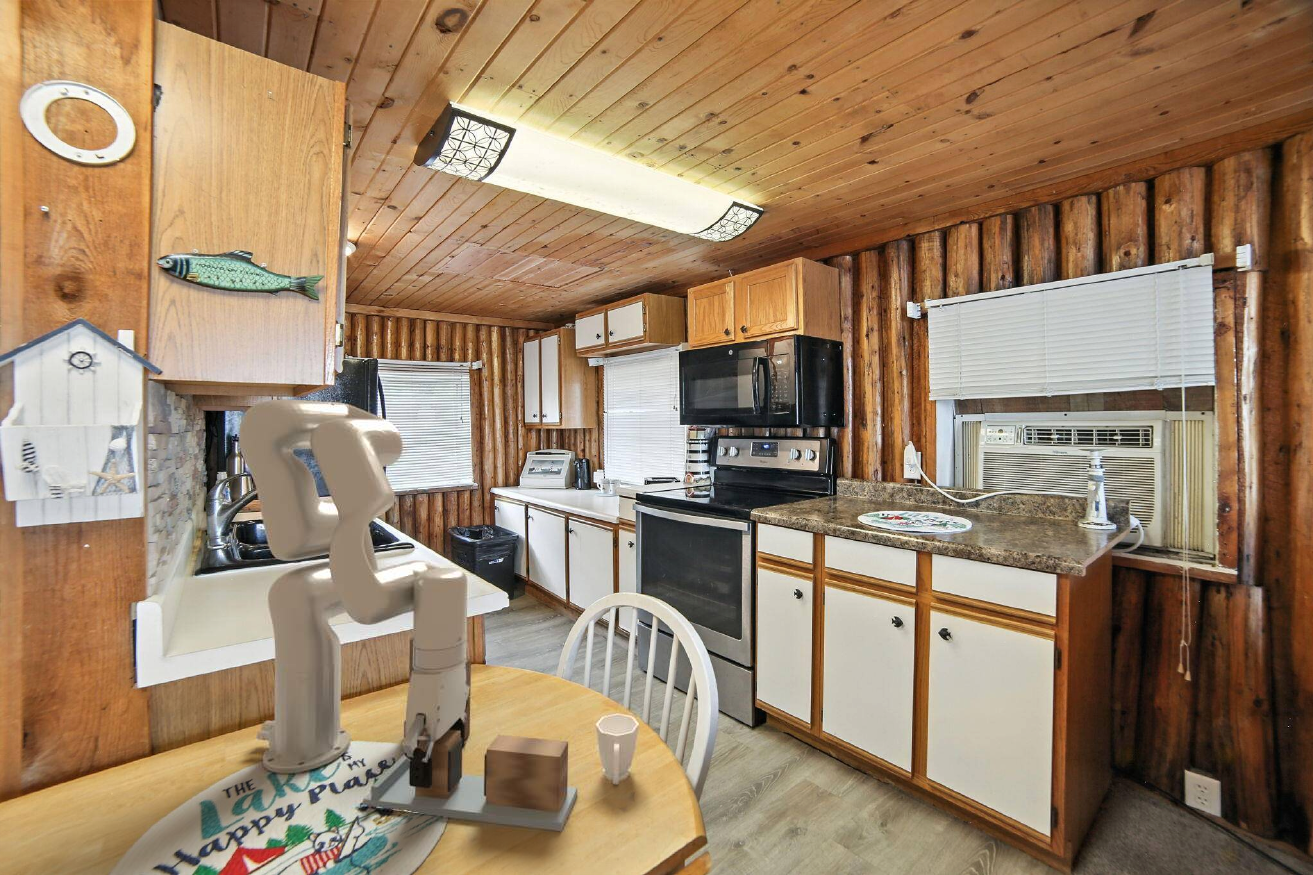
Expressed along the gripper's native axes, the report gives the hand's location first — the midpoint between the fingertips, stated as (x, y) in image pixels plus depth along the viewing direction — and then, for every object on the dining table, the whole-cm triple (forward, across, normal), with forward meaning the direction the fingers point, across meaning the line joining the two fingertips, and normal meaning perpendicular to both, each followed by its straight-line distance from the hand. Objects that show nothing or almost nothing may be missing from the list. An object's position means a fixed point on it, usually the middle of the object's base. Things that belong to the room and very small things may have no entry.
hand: (438, 765), depth 85 cm
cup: (+5, -9, +26) cm, 27 cm away
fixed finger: (+3, 0, +14) cm, 14 cm away
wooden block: (+5, -15, -8) cm, 18 cm away
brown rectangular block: (+3, 0, 0) cm, 3 cm away
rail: (+5, 0, +6) cm, 7 cm away
